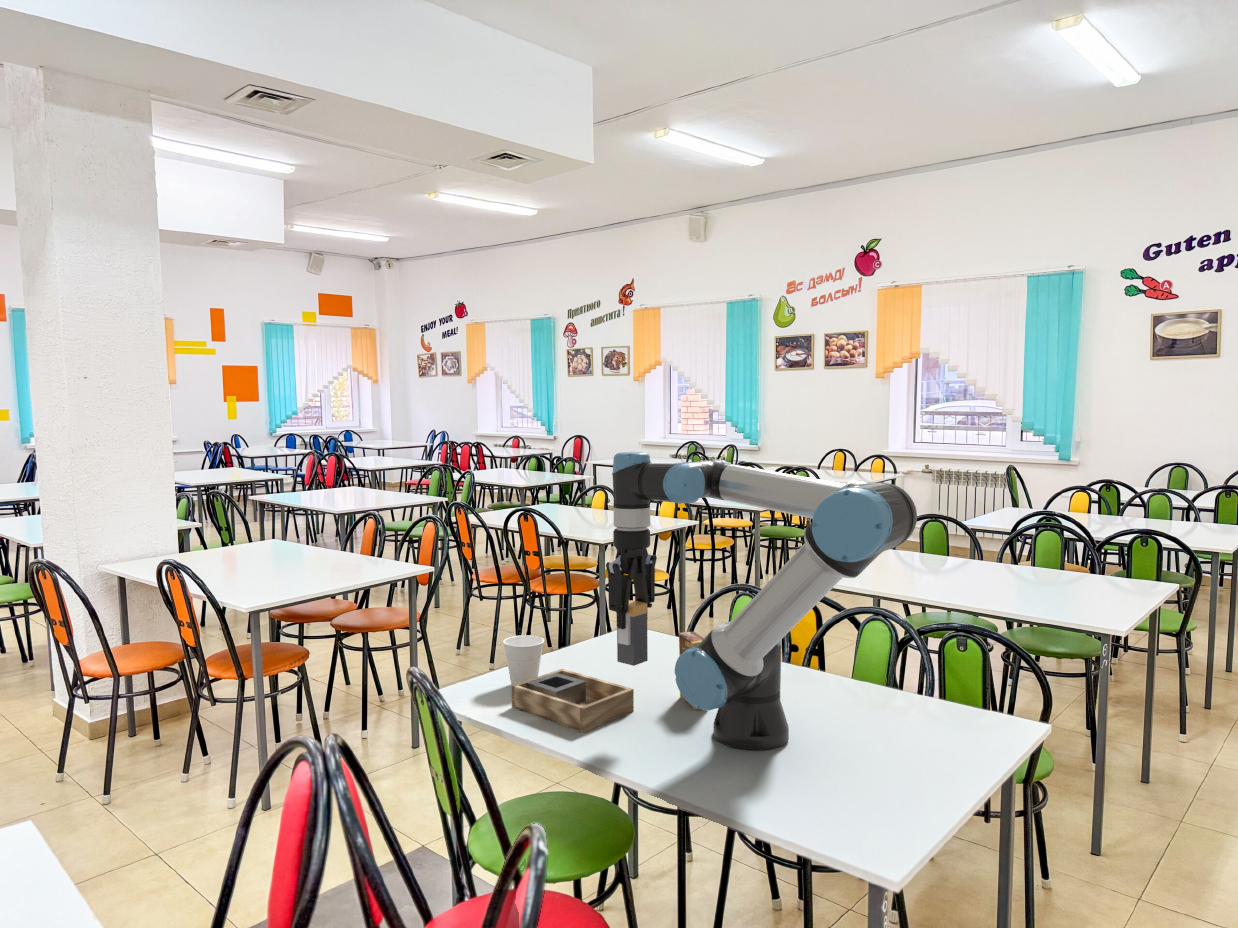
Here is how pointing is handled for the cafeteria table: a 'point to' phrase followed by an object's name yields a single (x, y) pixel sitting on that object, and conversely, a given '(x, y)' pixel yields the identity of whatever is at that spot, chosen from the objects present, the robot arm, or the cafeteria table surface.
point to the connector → (635, 636)
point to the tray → (597, 709)
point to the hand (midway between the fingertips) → (632, 640)
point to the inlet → (560, 687)
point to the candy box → (685, 643)
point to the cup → (523, 657)
